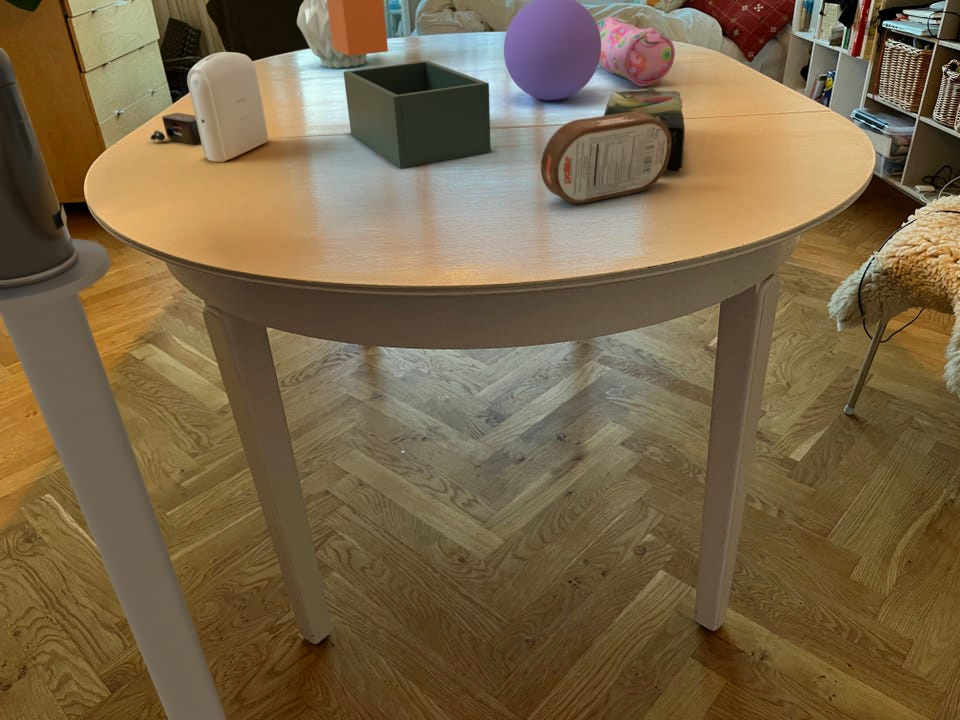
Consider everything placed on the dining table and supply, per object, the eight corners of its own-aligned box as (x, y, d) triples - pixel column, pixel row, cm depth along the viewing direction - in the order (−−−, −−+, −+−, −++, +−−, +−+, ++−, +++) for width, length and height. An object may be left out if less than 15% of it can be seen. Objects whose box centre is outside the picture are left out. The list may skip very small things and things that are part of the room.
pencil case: (582, 67, 142) (584, 14, 138) (629, 63, 144) (632, 11, 139) (621, 91, 124) (625, 31, 120) (674, 86, 126) (679, 28, 121)
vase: (329, 76, 143) (314, -34, 133) (289, 65, 154) (273, -37, 144) (400, 63, 152) (391, -41, 142) (357, 54, 163) (346, -44, 153)
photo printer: (226, 163, 97) (205, 61, 91) (200, 161, 99) (176, 60, 92) (274, 142, 105) (257, 47, 99) (248, 139, 107) (230, 46, 100)
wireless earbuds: (178, 134, 110) (173, 111, 109) (210, 140, 107) (205, 117, 105) (151, 142, 107) (145, 119, 105) (183, 149, 104) (177, 125, 102)
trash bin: (400, 168, 93) (393, 96, 88) (350, 134, 107) (343, 71, 103) (490, 151, 98) (489, 83, 93) (432, 121, 112) (428, 60, 107)
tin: (654, 180, 86) (661, 104, 81) (672, 188, 83) (680, 110, 79) (538, 204, 81) (539, 123, 76) (553, 213, 78) (554, 131, 74)
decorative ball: (573, 85, 129) (575, -13, 122) (615, 103, 117) (622, -4, 109) (491, 94, 125) (488, -6, 117) (526, 115, 113) (526, 5, 105)
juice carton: (604, 128, 105) (607, 82, 101) (677, 130, 103) (682, 83, 100) (595, 176, 88) (598, 123, 85) (682, 179, 86) (689, 125, 83)
